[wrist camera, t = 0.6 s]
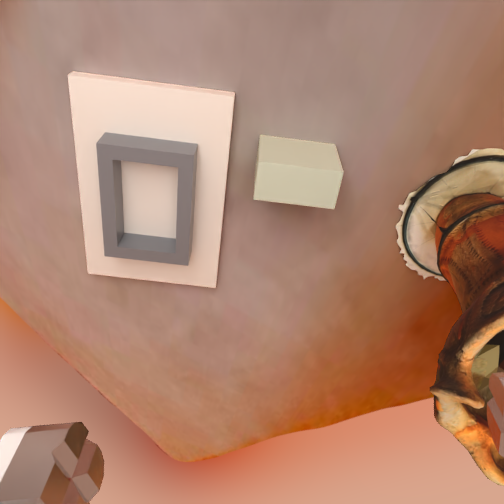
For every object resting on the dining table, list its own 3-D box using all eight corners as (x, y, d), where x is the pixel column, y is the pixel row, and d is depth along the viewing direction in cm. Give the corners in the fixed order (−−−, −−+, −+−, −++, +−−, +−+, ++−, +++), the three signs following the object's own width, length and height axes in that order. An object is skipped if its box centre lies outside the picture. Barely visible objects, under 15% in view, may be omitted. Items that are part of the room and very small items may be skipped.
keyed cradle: (73, 71, 46) (55, 83, 42) (235, 92, 46) (232, 106, 43) (91, 266, 59) (79, 288, 55) (216, 280, 60) (213, 303, 56)
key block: (259, 134, 49) (258, 161, 43) (335, 143, 49) (343, 172, 43) (255, 169, 51) (253, 199, 45) (327, 178, 51) (334, 209, 46)
